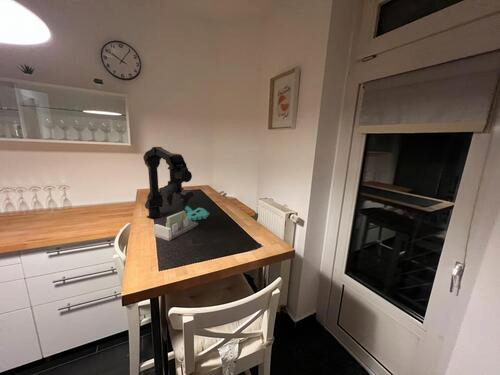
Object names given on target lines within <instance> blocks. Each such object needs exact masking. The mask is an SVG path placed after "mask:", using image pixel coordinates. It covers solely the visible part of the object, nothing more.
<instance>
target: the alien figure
mask: <svg viewBox="0 0 500 375" xmlns="http://www.w3.org/2000/svg"><path fill="white" fill-rule="evenodd" d="M184 211H186V218H188V220H189V221H194V222H196V221H197V220H202V219H205V220H206V219H207V218H208V217H210V212H208V210H207V209H205V207H204V208H203V207H197V208H196V209H194V210H193V208H191V207H190V206H188V205H186V207H185V209H184Z"/></svg>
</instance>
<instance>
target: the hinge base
mask: <svg viewBox="0 0 500 375" xmlns="http://www.w3.org/2000/svg"><path fill="white" fill-rule="evenodd" d="M197 226H199V222H196V221H194V220H192V221H189V220H188V218H186V219H184V220H183V226H182V227H180V228H178V223H175V224H173V225H172V232H171V228H168V227H167V222H166V223H165V226H164V225H161V224H157V223H156V224H153V234H154V237H156V238H159V239H162V240H165V241H168V242H169V241H171V240H174V239H176V238H178V237H179V236H180V235H182V234H185V233H186V232H188V231H190V230H192V229H194V228H196V227H197Z"/></svg>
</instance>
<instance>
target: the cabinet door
mask: <svg viewBox="0 0 500 375" xmlns="http://www.w3.org/2000/svg"><path fill="white" fill-rule="evenodd" d="M186 213H187V211H186V210H182V211H179V212H176V213H174V214H172V215H169V216H166V223H167V227H168V228H171V232H172V225H173V224H175V223H178V228H180V227H182V226H183V220H184V219H186Z"/></svg>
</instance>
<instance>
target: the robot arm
mask: <svg viewBox="0 0 500 375" xmlns="http://www.w3.org/2000/svg"><path fill="white" fill-rule="evenodd" d="M161 159H163V160H165V163H166V164H167V165H168V167H167V169H168V170H169V180H168V181H167V184H166V185H164V186H163V187H160V188H159V176H158V174H159V173H158V168H159V167H160V164H161ZM143 161H144V165H145V166H146V168H147V171H148V172H147V173H148V180H149V181H148V182H149V183H148V184H149V192H148V195H147V196H146V197H147V199H146V202H145V204H144V207H145V209H147V211H148V215H147V216H146V218H148V219H151V220H155V219H159V218H161V217H163V215H162V214H161V210H160V209H161V208H162V207H163V204H164V203H163V202H164V200H163V196H164V197H165V200H166V201H167V204H168V206H169V207H171V206H172V204H173V200H174V199H173V198H174V194H176V195H179V199H180V200H181V209H182V210H185V207H186V206H188V205H187V204H188V203H189V201H190V199H191V198H192V197H194V196H195V193H194V191H193V190H188V189H186V190H184V187H183V183H189V182H190V181H191V180H192V178H193V174H192V172H191V171H190V170H189V168H188V166H187V163H186V161H185V159H184V157H183V155H182V154H181V153H174V152H170V151H168V150H167V149H164V148H163V147H161V146H152V147H151V149H149V150H147V151H146V152H145V153H144V155H143Z"/></svg>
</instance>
